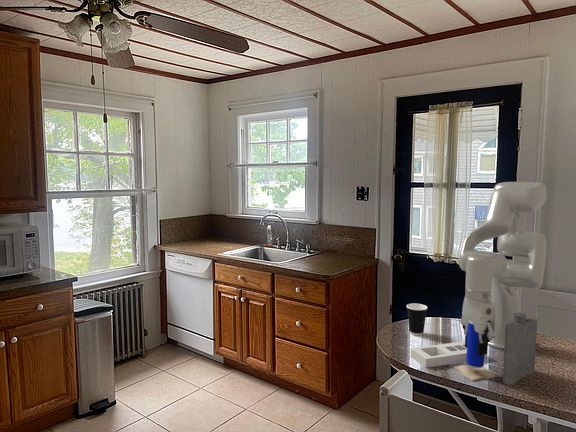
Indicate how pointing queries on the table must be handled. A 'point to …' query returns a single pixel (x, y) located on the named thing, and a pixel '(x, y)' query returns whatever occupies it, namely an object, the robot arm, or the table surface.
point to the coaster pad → (475, 372)
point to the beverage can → (473, 348)
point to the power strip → (440, 354)
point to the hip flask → (519, 348)
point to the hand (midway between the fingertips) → (475, 350)
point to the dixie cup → (416, 318)
